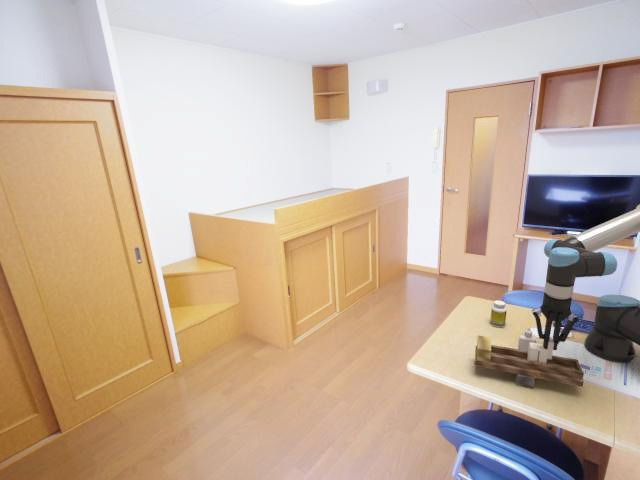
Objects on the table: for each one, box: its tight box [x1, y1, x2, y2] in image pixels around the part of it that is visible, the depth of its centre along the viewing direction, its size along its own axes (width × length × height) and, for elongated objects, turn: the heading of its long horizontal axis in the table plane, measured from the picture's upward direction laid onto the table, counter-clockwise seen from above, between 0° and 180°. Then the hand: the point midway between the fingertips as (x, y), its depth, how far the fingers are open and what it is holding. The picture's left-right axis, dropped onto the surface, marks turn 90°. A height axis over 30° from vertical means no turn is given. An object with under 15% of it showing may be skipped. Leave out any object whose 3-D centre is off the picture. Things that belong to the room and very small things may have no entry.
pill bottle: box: [489, 299, 508, 328], centre depth 154 cm, size 6×6×11 cm
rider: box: [527, 342, 548, 364], centre depth 117 cm, size 5×4×7 cm
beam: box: [474, 335, 585, 390], centre depth 119 cm, size 32×12×11 cm, turn 65°
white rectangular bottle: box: [517, 327, 537, 351], centre depth 131 cm, size 4×6×12 cm
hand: (548, 356), depth 115 cm, fingers closed
